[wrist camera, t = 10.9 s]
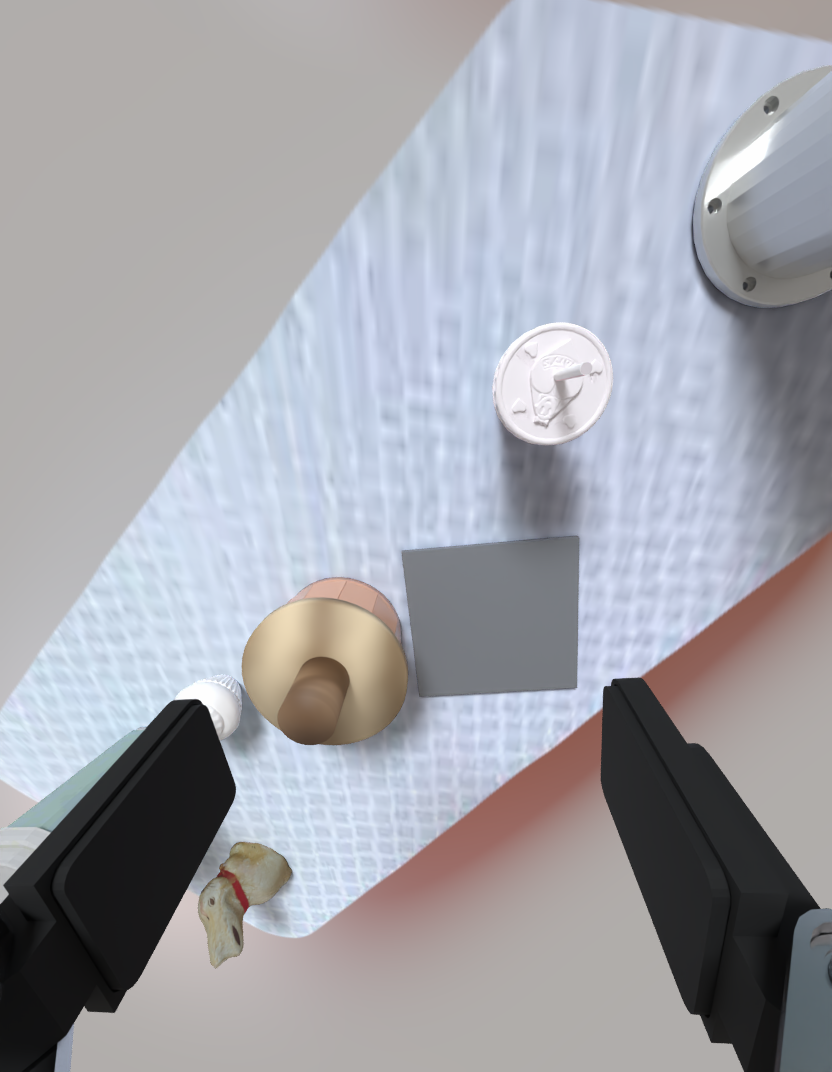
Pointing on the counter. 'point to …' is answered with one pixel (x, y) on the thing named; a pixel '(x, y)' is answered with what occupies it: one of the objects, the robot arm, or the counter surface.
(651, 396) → the counter surface
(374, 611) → the bowl
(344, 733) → the lid
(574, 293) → the counter surface
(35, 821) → the disposable coffee cup
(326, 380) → the counter surface
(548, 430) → the smoothie
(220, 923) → the chocolate bunny
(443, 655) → the mat
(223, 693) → the white cupcake
